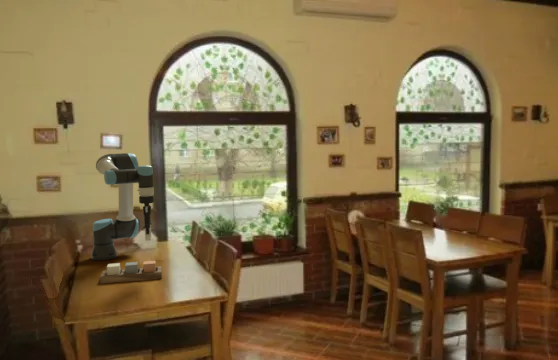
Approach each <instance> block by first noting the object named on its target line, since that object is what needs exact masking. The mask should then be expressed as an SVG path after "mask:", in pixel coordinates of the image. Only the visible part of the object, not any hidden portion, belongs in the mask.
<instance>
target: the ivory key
mask: <svg viewBox="0 0 558 360" xmlns="http://www.w3.org/2000/svg"><path fill="white" fill-rule="evenodd" d="M121 269H122V268H121V263H120V262H116V263H108V264H107V266H106V270H107V275H116V274H120V272H121Z"/></svg>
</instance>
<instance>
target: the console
mask: <svg viewBox="0 0 558 360" xmlns="http://www.w3.org/2000/svg"><path fill="white" fill-rule="evenodd" d="M120 269H121V272H120V274H116V275H107V269H105V270H102V272H101V274H100V276H99V279H100V281H99V282H100V284H101V285H102V284H111V283H112V284H113V283H123V282H139V281H148V280H159V279H161V280H162V278H163V277H162V276H163V269H162V265H156V271H154V272H144V268H143V267H138V273H129V274H126V272H125V268H120Z"/></svg>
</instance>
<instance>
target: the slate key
mask: <svg viewBox="0 0 558 360" xmlns="http://www.w3.org/2000/svg"><path fill="white" fill-rule="evenodd" d="M124 267H125V268H124V269H125V272H126V274H129V273H138V268H139V261H133V262H130V261H129V262H126V263H125V266H124Z"/></svg>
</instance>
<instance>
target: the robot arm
mask: <svg viewBox="0 0 558 360" xmlns="http://www.w3.org/2000/svg"><path fill="white" fill-rule="evenodd" d="M95 163H96V164H95V168H96V170H97V172H98V173H99V174H101V175H103V179H104V180H103V181H104V183H105V185H113V186H114V185H118V190H117V191H118V215H116V217H115V220H113V219H112V218H104V219H99V220H96V221H94V222H93V223H92V238H93V239H92V240H93V241H92V242H93V243H92V244H93V247H92V250H91V254H90V256H91V257H90V259H91V260H93V261H108V260H112V259H116V258H117V257H118V251H117V249H116V247H115V244H114V242H115V240H121V239H130V238H135V237H136V236H137V235H138V233H139V227H140V226H139V225H140V224H139V223H140V222H139V220H138V218H136V216H135V214H134V184H138V189H137V192H138V195H139V196H138V202H139V204H144V205H143V206H142V211H143V216H144V226H143V229H144V239H145V241H146V242H148V241H151V238H152V224H153V222H152V221H151V214H152V206H151V205H150V204H154V203H155V196H154V194H155V189H154V188H155V187H154V171H153V170H154V169H153V166H152V165H139V160H138V158H137V156H136V154H134V153H133V152H132V153H129V152H128V153H127V152H125V153H108V154H104V155H102V156H101V157H99V158H98V159H97V161H96V162H95Z"/></svg>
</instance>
